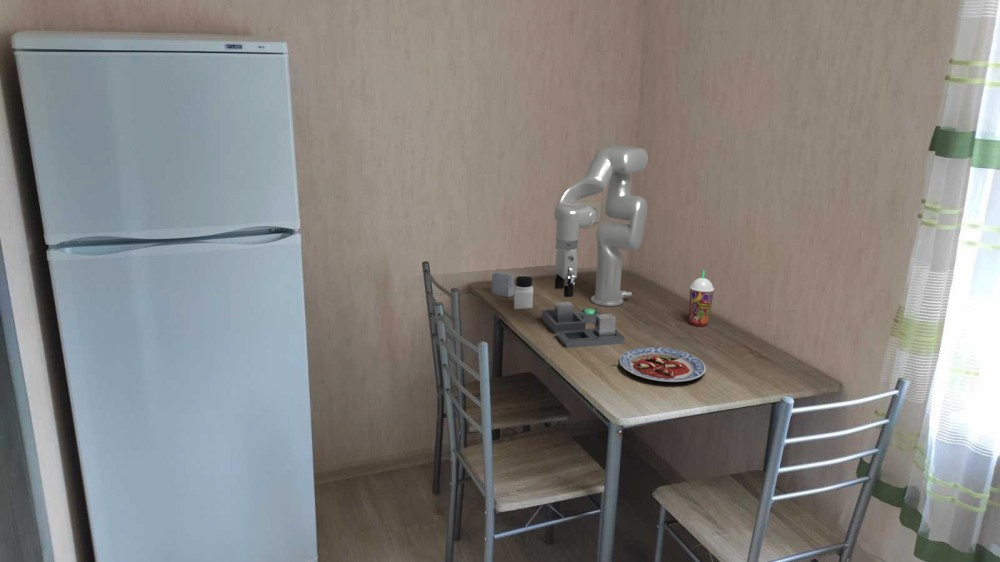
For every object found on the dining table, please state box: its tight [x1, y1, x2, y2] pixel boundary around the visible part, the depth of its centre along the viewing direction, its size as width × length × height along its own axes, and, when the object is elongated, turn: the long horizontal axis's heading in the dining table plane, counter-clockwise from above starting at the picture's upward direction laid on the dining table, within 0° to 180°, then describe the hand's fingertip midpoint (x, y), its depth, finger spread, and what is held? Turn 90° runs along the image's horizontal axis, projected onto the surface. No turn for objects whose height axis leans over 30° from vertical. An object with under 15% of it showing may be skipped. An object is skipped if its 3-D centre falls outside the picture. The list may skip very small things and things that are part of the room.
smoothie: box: [688, 270, 715, 328], centre depth 256 cm, size 8×8×20 cm
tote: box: [541, 308, 587, 335], centre depth 252 cm, size 11×15×4 cm
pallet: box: [556, 327, 626, 349], centre depth 239 cm, size 20×10×3 cm, turn 104°
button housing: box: [576, 307, 602, 325], centre depth 257 cm, size 7×7×4 cm
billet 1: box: [553, 301, 574, 323], centre depth 251 cm, size 6×4×8 cm
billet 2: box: [594, 313, 617, 337], centre depth 239 cm, size 6×4×8 cm
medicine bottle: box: [513, 275, 535, 310], centre depth 271 cm, size 7×7×12 cm
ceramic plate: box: [619, 346, 707, 383], centre depth 220 cm, size 26×26×3 cm
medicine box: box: [491, 271, 515, 298], centre depth 286 cm, size 8×4×9 cm, turn 58°
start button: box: [584, 307, 595, 314], centre depth 257 cm, size 4×4×4 cm
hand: (563, 292), depth 248 cm, fingers open, 9 cm apart
